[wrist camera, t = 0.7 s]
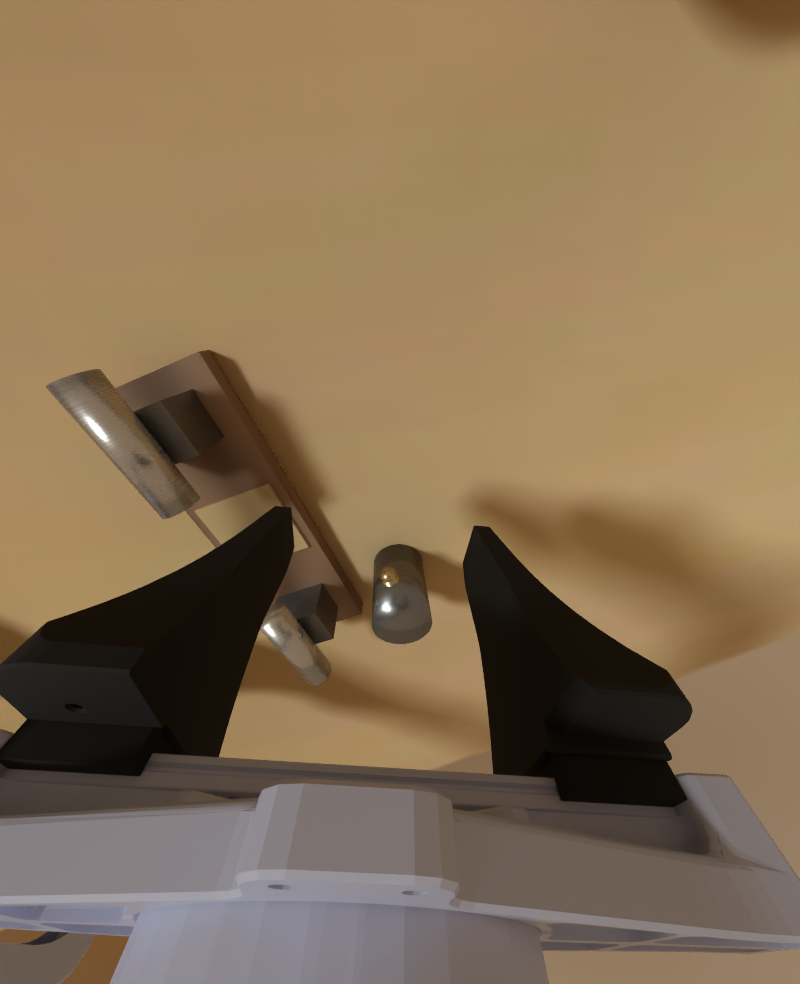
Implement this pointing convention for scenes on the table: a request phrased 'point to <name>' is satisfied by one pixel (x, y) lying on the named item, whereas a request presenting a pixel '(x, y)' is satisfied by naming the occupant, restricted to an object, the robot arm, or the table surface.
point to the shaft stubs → (188, 491)
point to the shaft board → (242, 477)
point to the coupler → (400, 596)
